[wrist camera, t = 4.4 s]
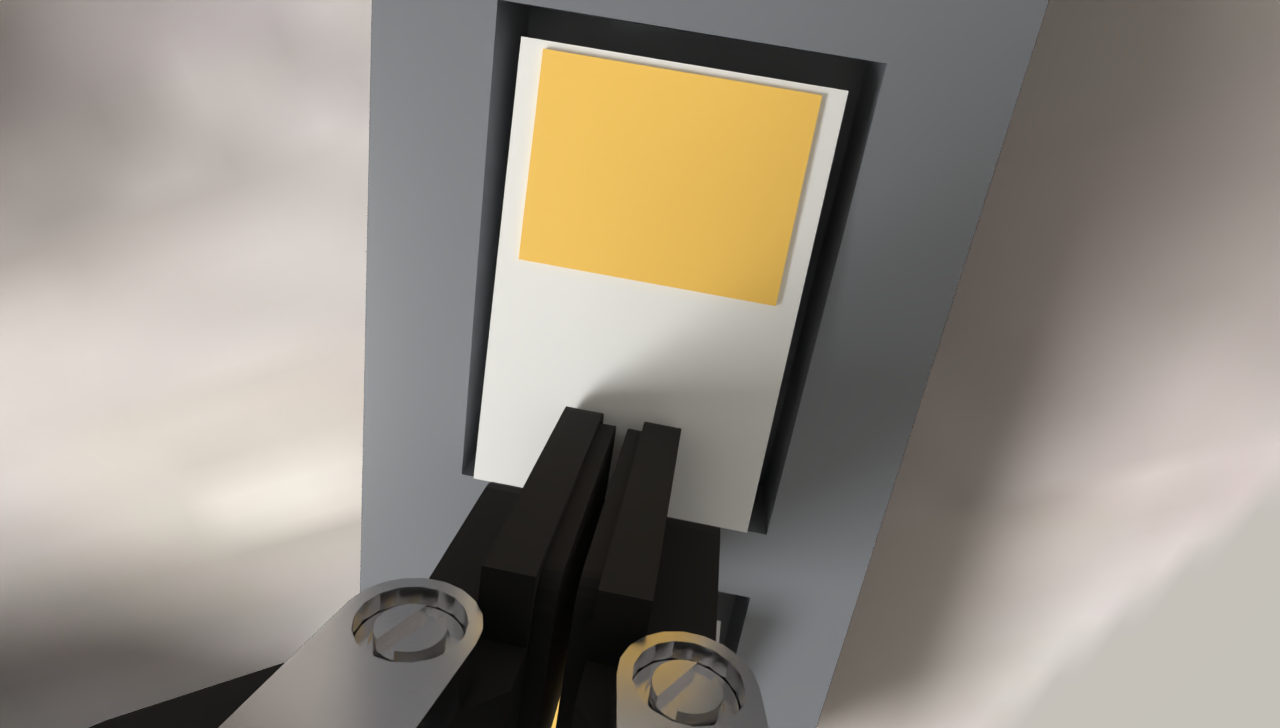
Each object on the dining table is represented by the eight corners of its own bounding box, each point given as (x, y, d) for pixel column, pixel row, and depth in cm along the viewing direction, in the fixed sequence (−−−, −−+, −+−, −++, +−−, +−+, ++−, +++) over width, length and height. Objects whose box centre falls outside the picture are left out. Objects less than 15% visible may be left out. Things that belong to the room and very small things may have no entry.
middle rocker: (539, 44, 11) (519, 35, 10) (837, 94, 10) (849, 90, 9) (493, 450, 12) (472, 480, 11) (745, 500, 12) (747, 535, 11)
